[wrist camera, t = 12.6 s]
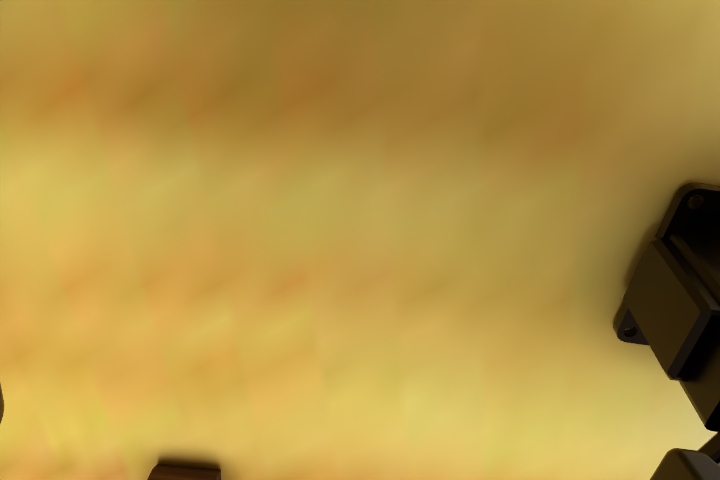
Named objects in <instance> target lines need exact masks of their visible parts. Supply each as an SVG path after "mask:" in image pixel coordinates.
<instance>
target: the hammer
mask: <svg viewBox="0 0 720 480" xmlns="http://www.w3.org/2000/svg"><path fill="white" fill-rule="evenodd" d="M147 480H221V470H213V469H202V468H190V467H179V466H167V465H156V466H155V467H154V468H153V469H152V471H151V473H150V475H149V477H148V479H147Z"/></svg>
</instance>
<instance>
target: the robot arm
mask: <svg viewBox="0 0 720 480" xmlns="http://www.w3.org/2000/svg"><path fill="white" fill-rule="evenodd" d="M695 195H698V198H697V199H696V200H695V201H694V202H692V203H688V200H689V199H690V198H691V197H693V196H695ZM624 301H625V302H624V304H623V306H622V308H621V310H620V312H619V314H618V316H617V318H616V320H615V322H614V326H613V328H614V331H615V333H616V335H617V337H618V338H619V339H620V340H621V341H624V342H628V343H635V344H642V345H649V346H650V347H651V349H652V350H653V352H654V354H655V356H656V357H657V359H658V361H659V363H660V365H661V366H662V368H663V370H664V372H665V373H666V375H667V376H668V378H669V379H670V380H675V381H679V382H680V384H681V386H682V388H683V389H684V391H685V393H686V394H687V396H688V398H689V400H690V401H691V403H692V405H693V407H694V408H695V410H696V412H697V413H698V415H699V417H700V419H701V420H702V422H703V424H704V426H705V427H706V429H708V430H710V431H716V432H718V433H717V434H715V435H714V436H713V437H712V438H711V439H710V440H709V441H708V442H706V443H705V444H704V445H703V446H702V447H701V448H700V449H699V450H697V451H694V450H687V449H679V448H674V449H671V450H670V451H668V452H667V453H666V455H665V456H664V458H663V459H662V461H661V463H660V464H659V466H658V468H657V469H656V471H655V472H654V474H653V476H652V477H651V479H650V480H720V187H719V186H713V185H706V184H700V183H690V184H687V185H684V186H683V187H682V188H680V189H679V191H678V192H677V193H676V195H675V197H674V199H673V201H672V203H671V205H670V208H669V210H668V212H667V214H666V216H665V218H664V220H663V222H662V224H661V226H660V228H659V231H658V233H657V235H656V237H655V238H654V239H653V240H652V241H651V242H650V243H649V245H648V247H647V249H646V251H645V253H644V255H643V257H642V259H641V262H640V264H639V266H638V268H637V270H636V272H635V274H634V276H633V278H632V281H631V283H630V285H629V287H628V289H627V291H626V293H625V295H624ZM628 327H632V328H631V329H629V330H625V329H626V328H628ZM3 413H4V400H3V395H2V389H1V384H0V423H1V421H2V417H3Z"/></svg>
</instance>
